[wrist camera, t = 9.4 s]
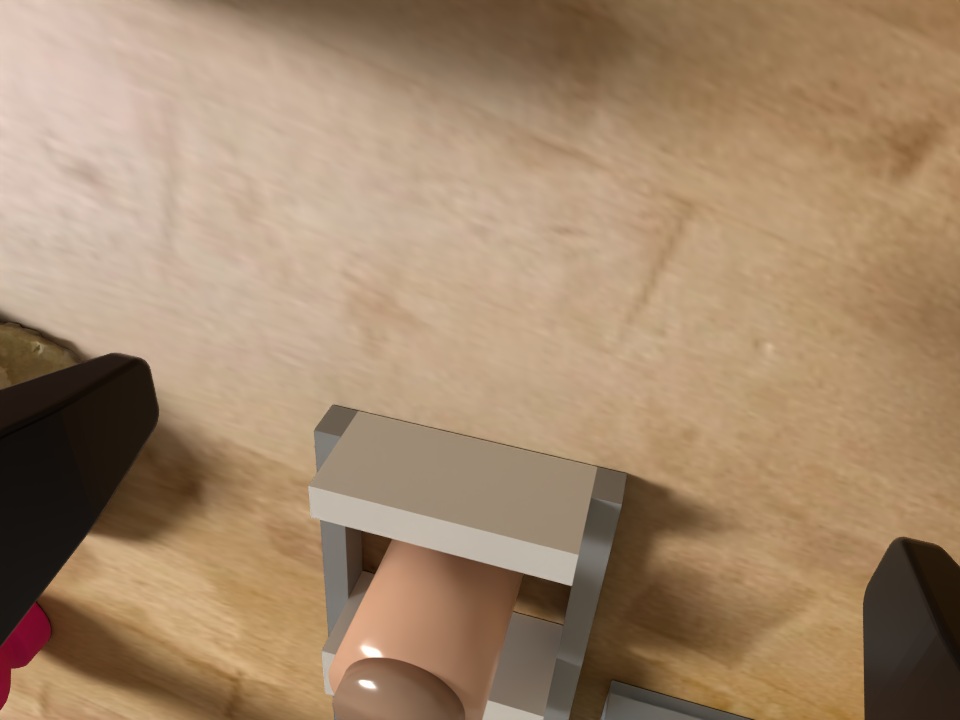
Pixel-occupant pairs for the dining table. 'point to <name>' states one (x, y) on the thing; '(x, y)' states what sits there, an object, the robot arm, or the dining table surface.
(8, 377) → the pastry
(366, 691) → the jar
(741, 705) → the dining table surface
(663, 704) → the tray
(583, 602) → the caddy
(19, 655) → the pepper mill
